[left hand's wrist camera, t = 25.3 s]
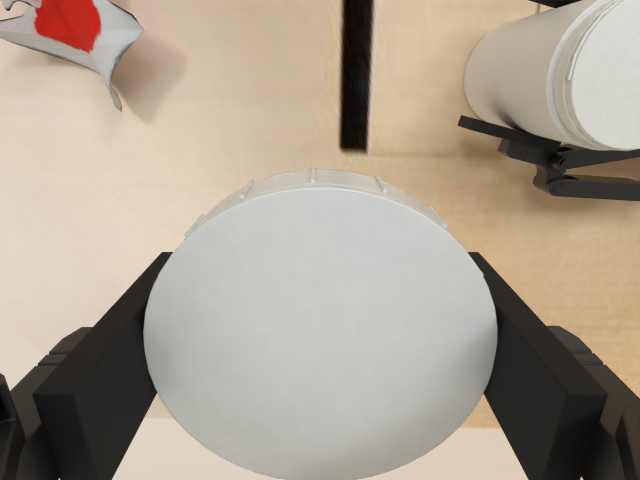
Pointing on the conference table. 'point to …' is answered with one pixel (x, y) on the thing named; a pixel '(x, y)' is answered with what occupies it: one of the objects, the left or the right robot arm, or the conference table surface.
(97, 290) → the conference table surface
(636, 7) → the jar
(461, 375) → the lid
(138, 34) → the fish
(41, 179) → the conference table surface
